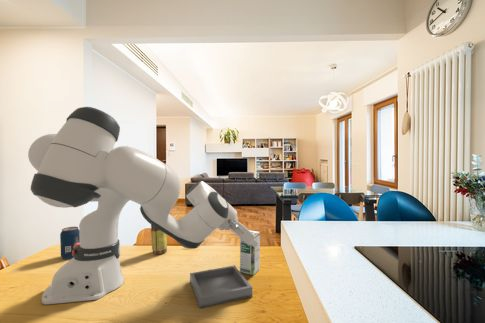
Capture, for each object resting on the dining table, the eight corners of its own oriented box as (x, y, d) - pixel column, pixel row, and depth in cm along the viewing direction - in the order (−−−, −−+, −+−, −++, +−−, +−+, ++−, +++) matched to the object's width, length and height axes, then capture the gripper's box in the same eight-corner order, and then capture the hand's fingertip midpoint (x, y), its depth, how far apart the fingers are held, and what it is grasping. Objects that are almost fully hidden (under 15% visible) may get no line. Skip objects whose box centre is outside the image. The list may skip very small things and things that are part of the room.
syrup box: (239, 272, 94) (239, 233, 94) (246, 266, 100) (246, 228, 99) (253, 275, 92) (253, 235, 91) (260, 269, 97) (260, 231, 96)
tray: (200, 308, 73) (200, 298, 73) (190, 281, 88) (190, 273, 88) (252, 296, 79) (252, 287, 79) (234, 273, 94) (234, 265, 93)
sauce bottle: (169, 249, 116) (168, 206, 116) (163, 255, 110) (162, 209, 109) (155, 249, 117) (154, 205, 116) (148, 254, 111) (148, 208, 110)
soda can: (64, 254, 111) (63, 227, 111) (82, 252, 114) (81, 225, 113) (58, 261, 105) (57, 231, 104) (77, 258, 107) (77, 230, 106)
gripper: (241, 217, 82) (268, 243, 86) (222, 205, 101) (245, 226, 105) (228, 232, 81) (256, 258, 85) (211, 217, 100) (235, 239, 104)
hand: (250, 241), depth 95 cm, fingers open, 8 cm apart
